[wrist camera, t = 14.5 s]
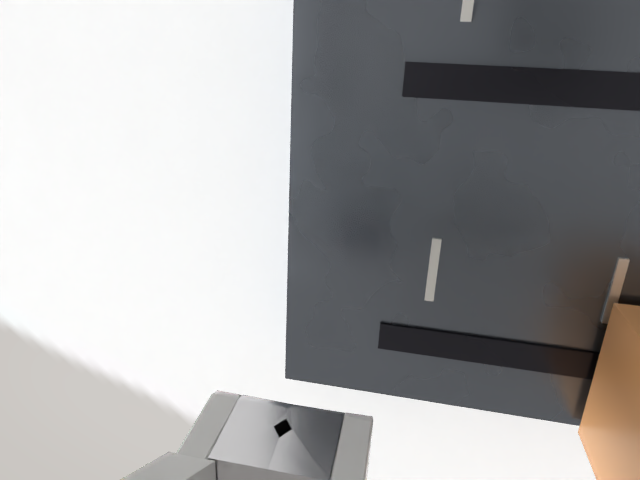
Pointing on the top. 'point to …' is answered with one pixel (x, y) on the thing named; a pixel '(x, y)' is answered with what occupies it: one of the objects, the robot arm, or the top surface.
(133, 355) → the top surface
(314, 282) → the console
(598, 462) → the fader
